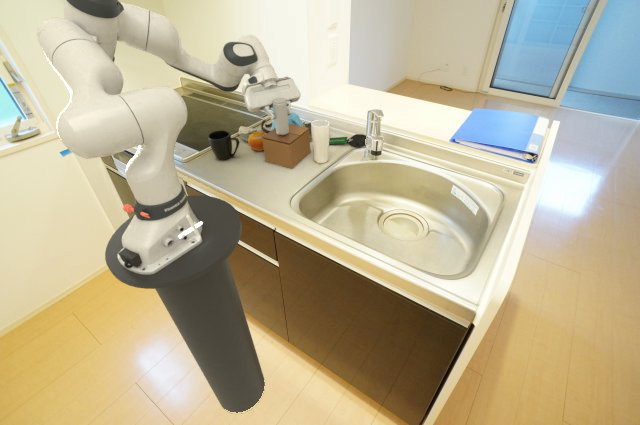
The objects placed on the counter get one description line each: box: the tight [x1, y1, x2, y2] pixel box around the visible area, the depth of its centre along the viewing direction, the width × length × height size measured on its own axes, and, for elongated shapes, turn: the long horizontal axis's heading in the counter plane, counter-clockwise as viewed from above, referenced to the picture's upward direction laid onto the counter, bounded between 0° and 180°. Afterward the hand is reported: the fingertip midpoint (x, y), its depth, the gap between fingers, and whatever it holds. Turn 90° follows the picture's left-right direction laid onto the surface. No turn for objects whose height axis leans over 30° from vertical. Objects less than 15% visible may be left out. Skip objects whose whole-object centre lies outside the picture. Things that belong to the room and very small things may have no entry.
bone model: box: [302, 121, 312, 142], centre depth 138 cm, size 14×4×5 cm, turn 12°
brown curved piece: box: [260, 119, 273, 134], centre depth 144 cm, size 13×5×10 cm
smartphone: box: [305, 122, 312, 136], centre depth 141 cm, size 7×1×15 cm
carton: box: [262, 124, 311, 169], centre depth 120 cm, size 14×12×10 cm
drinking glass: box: [310, 119, 331, 164], centre depth 116 cm, size 7×7×15 cm
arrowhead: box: [238, 125, 257, 135], centre depth 141 cm, size 8×2×10 cm
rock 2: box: [346, 133, 367, 148], centre depth 129 cm, size 9×7×5 cm
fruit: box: [247, 130, 267, 152], centre depth 127 cm, size 8×8×8 cm
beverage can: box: [273, 98, 289, 135], centre depth 112 cm, size 5×5×12 cm
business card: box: [329, 136, 349, 145], centre depth 131 cm, size 9×1×5 cm
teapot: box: [270, 107, 303, 131], centre depth 135 cm, size 13×11×18 cm
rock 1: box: [239, 133, 252, 142], centre depth 135 cm, size 9×2×5 cm
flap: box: [262, 129, 300, 144], centre depth 115 cm, size 7×12×1 cm, turn 62°
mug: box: [207, 129, 240, 161], centre depth 121 cm, size 8×12×10 cm
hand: (281, 116), depth 111 cm, fingers closed on beverage can, 5 cm apart
